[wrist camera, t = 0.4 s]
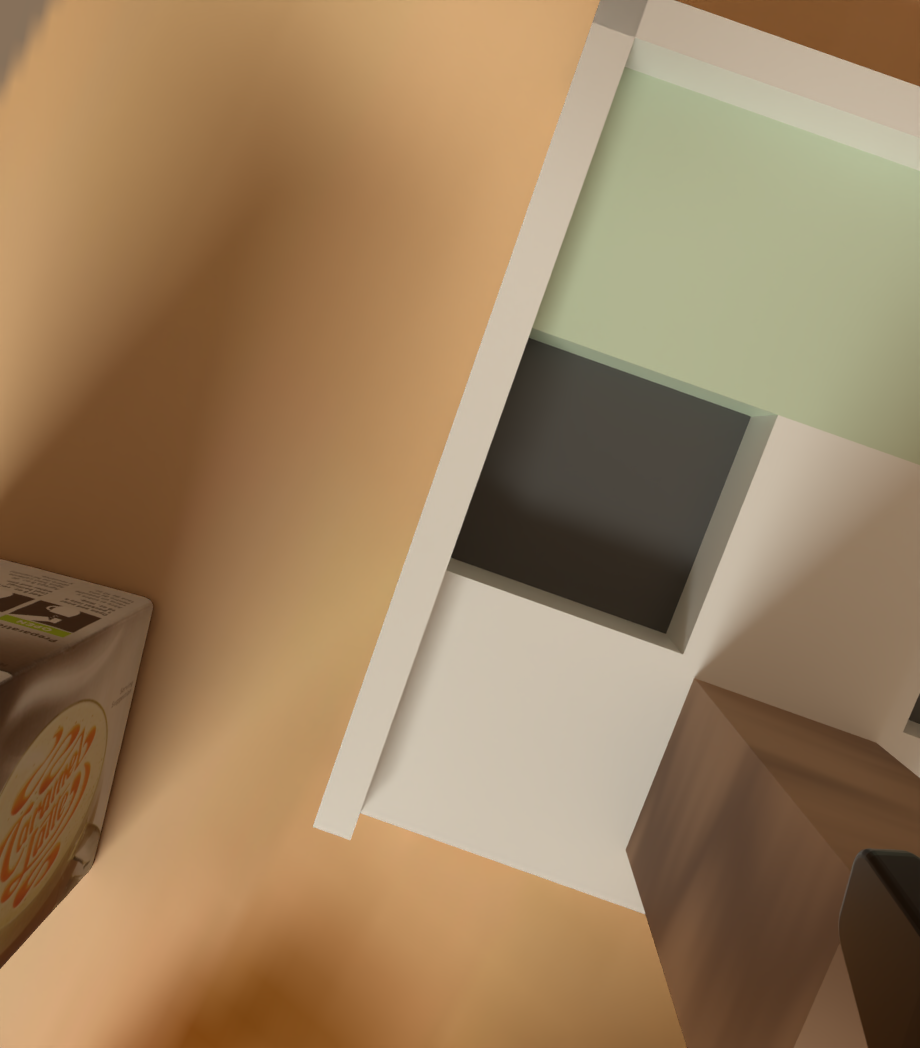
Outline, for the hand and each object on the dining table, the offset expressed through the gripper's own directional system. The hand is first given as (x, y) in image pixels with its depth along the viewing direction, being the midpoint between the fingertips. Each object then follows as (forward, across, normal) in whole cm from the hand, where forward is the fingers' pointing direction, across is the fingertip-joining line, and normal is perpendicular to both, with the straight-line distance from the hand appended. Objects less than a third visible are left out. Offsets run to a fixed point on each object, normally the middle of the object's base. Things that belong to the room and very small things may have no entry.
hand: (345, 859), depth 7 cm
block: (+12, -8, +9) cm, 17 cm away
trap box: (+16, -10, +4) cm, 20 cm away
